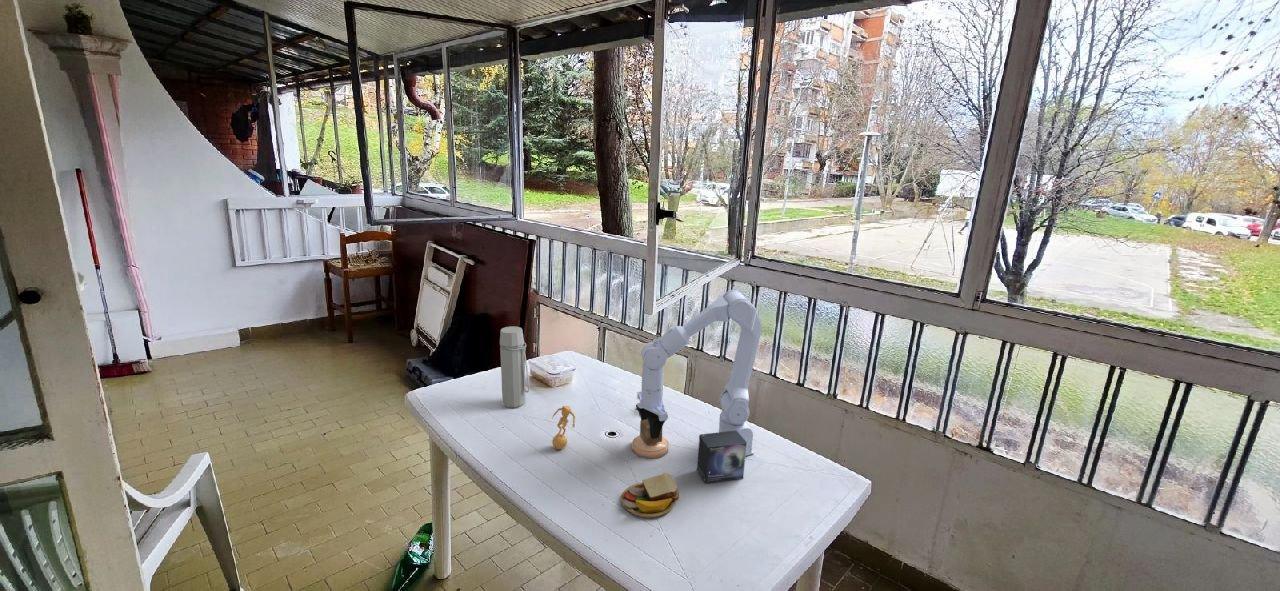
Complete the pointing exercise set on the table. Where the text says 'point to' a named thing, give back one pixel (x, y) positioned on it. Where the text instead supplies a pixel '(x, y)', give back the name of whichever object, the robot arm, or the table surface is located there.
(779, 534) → the table surface
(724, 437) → the small box
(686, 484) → the table surface
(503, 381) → the water bottle
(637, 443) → the pedestal
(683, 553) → the table surface
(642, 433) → the walnut block
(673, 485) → the toy sandwich meal
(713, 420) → the table surface
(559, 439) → the figurine
